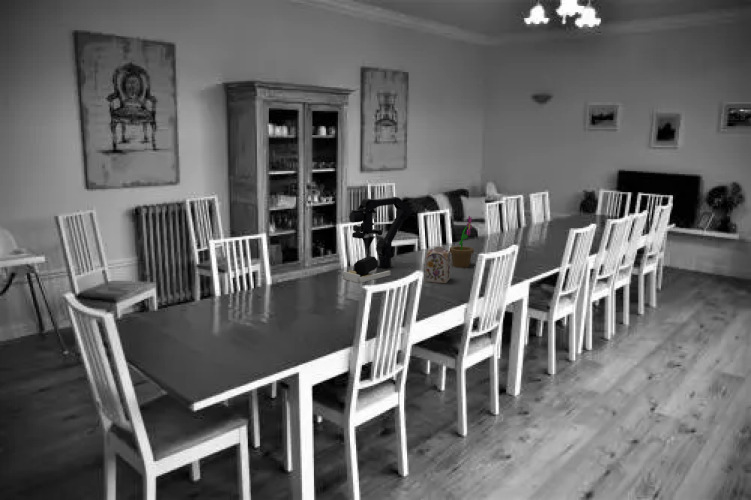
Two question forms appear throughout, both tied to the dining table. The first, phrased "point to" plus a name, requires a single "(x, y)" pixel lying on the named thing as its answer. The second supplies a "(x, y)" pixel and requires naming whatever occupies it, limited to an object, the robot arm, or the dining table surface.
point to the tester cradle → (356, 278)
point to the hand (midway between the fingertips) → (367, 248)
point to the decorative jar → (438, 265)
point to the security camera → (365, 266)
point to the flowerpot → (462, 250)
